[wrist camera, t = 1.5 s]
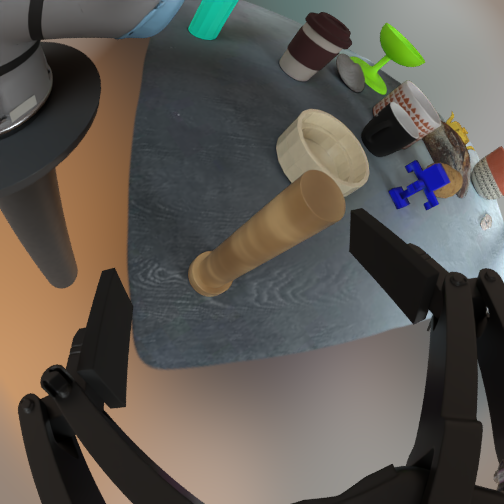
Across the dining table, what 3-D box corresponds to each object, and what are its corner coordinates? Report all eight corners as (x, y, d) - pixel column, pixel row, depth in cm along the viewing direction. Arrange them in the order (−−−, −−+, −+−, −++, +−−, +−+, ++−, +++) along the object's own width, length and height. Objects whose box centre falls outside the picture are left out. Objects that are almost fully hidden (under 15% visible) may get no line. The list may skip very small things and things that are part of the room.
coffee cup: (277, 77, 49) (324, 23, 36) (268, 50, 51) (308, 0, 39) (318, 92, 53) (365, 46, 41) (305, 65, 56) (346, 21, 44)
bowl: (267, 179, 39) (293, 155, 34) (280, 118, 44) (301, 95, 39) (342, 219, 43) (371, 203, 38) (343, 157, 49) (366, 139, 44)
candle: (182, 25, 42) (207, -24, 32) (207, 24, 46) (232, -21, 36) (197, 40, 42) (226, -10, 32) (222, 39, 46) (251, -7, 36)
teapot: (460, 160, 98) (477, 150, 90) (444, 139, 94) (461, 128, 86) (454, 140, 105) (469, 130, 97) (437, 119, 101) (453, 109, 93)
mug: (370, 127, 59) (401, 103, 51) (390, 161, 58) (424, 138, 50) (341, 126, 53) (376, 97, 44) (364, 165, 52) (403, 138, 43)
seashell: (325, 57, 63) (331, 71, 58) (340, 45, 59) (348, 58, 54) (354, 84, 69) (362, 101, 64) (368, 74, 65) (378, 89, 60)
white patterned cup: (376, 101, 68) (408, 75, 58) (408, 138, 70) (441, 115, 60) (366, 115, 61) (404, 85, 50) (403, 158, 63) (442, 133, 52)
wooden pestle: (183, 288, 29) (285, 210, 14) (194, 249, 31) (295, 147, 16) (223, 302, 30) (352, 245, 15) (231, 263, 32) (352, 182, 17)
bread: (434, 125, 93) (452, 113, 85) (470, 199, 87) (490, 188, 79) (404, 109, 79) (425, 93, 71) (449, 198, 73) (475, 185, 64)
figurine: (408, 223, 54) (456, 199, 44) (385, 202, 51) (435, 174, 41) (407, 195, 57) (450, 171, 47) (385, 175, 55) (429, 147, 45)
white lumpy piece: (478, 219, 85) (480, 218, 84) (488, 211, 100) (489, 211, 99) (483, 234, 84) (485, 233, 83) (493, 224, 99) (494, 223, 99)
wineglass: (343, 62, 68) (383, 24, 53) (353, 53, 76) (387, 21, 61) (383, 101, 71) (426, 67, 56) (387, 86, 79) (424, 57, 64)
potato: (408, 167, 63) (437, 150, 55) (434, 178, 70) (458, 164, 63) (420, 199, 60) (451, 183, 53) (444, 206, 68) (470, 192, 60)
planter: (461, 166, 95) (499, 144, 77) (469, 166, 105) (503, 147, 87) (480, 209, 92) (520, 190, 74) (486, 204, 102) (521, 187, 85)
